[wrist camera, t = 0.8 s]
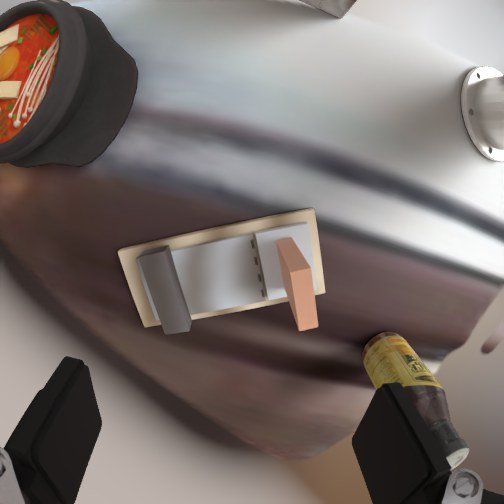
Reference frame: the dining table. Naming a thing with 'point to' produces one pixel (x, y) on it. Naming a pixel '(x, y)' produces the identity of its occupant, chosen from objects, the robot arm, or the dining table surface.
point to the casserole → (60, 85)
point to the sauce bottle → (414, 389)
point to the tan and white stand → (290, 270)
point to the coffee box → (332, 6)
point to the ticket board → (207, 272)
